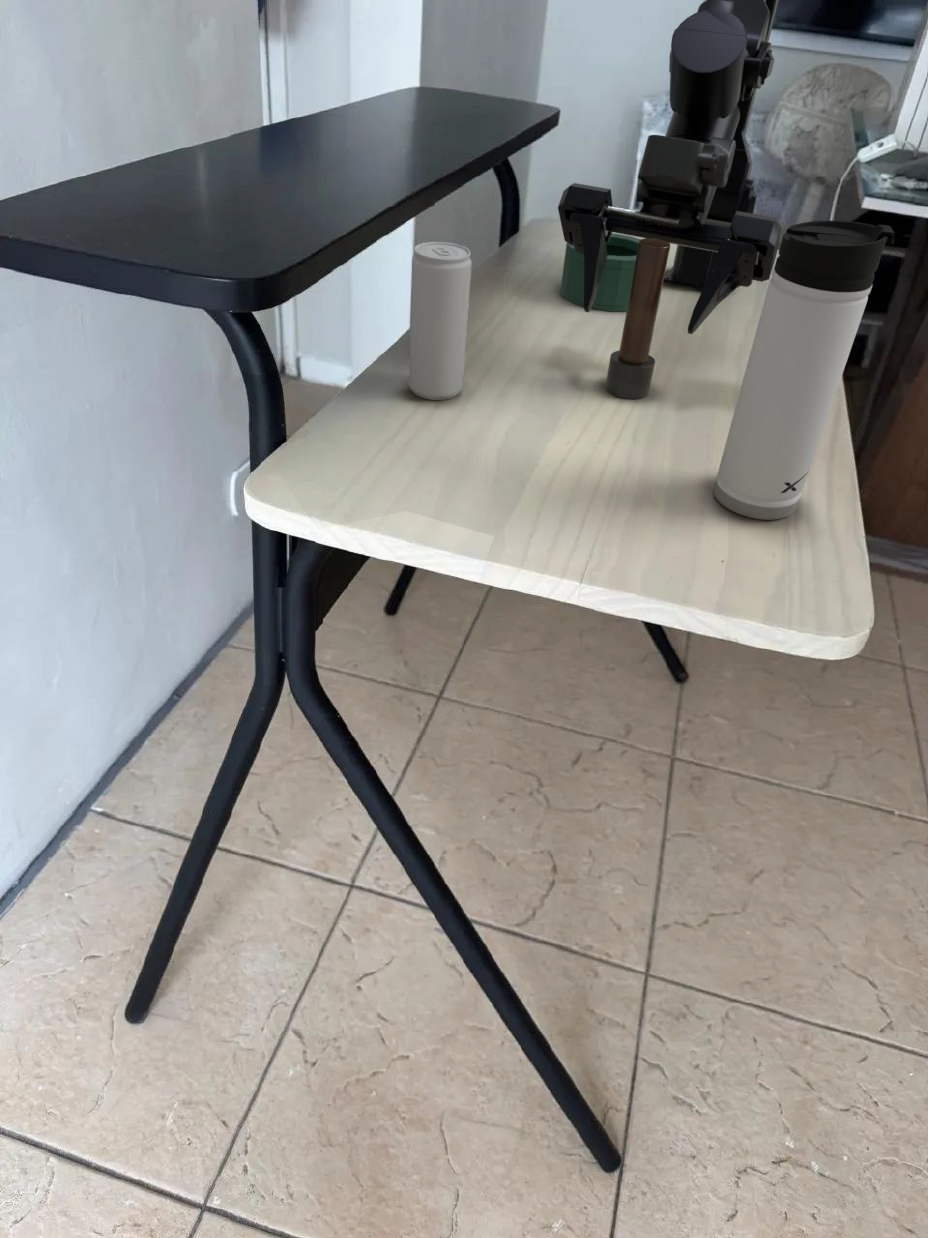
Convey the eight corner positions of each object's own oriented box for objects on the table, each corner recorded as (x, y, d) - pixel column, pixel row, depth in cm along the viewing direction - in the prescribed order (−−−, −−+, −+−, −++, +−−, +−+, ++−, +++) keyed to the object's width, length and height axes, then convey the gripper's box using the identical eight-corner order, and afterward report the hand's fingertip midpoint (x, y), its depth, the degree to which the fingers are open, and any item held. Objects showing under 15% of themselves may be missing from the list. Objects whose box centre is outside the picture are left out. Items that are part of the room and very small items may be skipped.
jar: (575, 275, 110) (582, 227, 106) (657, 291, 107) (667, 242, 104) (548, 299, 102) (555, 248, 99) (636, 317, 100) (645, 265, 96)
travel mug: (804, 528, 67) (904, 243, 55) (713, 513, 68) (791, 228, 56) (797, 487, 72) (888, 216, 60) (712, 473, 73) (784, 203, 60)
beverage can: (422, 405, 79) (428, 261, 71) (398, 383, 82) (402, 243, 75) (471, 397, 81) (483, 256, 73) (447, 376, 84) (455, 239, 77)
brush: (611, 377, 86) (637, 232, 78) (653, 386, 85) (683, 240, 77) (599, 392, 83) (625, 243, 75) (642, 402, 82) (673, 252, 74)
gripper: (580, 76, 75) (520, 248, 74) (813, 108, 70) (753, 293, 69) (593, 164, 86) (540, 316, 85) (795, 197, 81) (743, 359, 80)
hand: (637, 320), depth 79 cm, fingers open, 9 cm apart
